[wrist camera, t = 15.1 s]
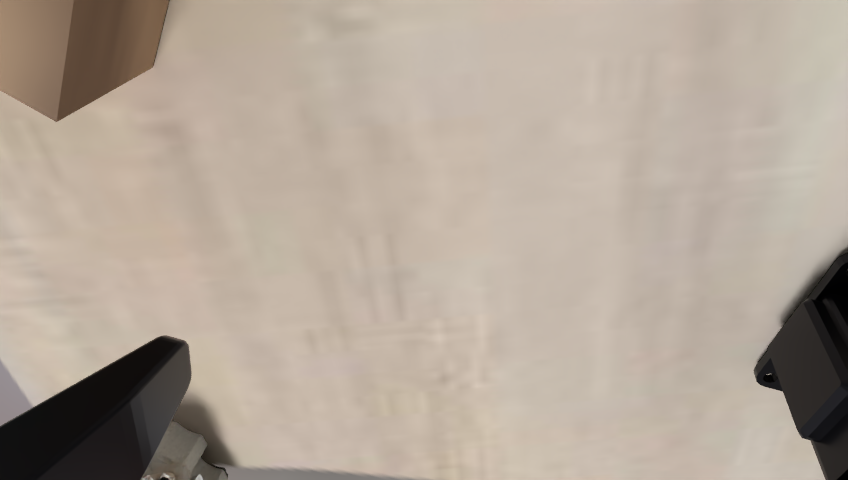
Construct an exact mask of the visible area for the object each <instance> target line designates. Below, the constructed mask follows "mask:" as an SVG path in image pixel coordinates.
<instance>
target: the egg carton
mask: <svg viewBox="0 0 848 480" xmlns="http://www.w3.org/2000/svg"><path fill="white" fill-rule="evenodd" d="M206 447H207V443H206V441H205V439H204V437H203V436H202V435H201V434H197V433H193V432H191V431H188V430H186V429H185V428H183V427H182V426H181V425H180V424H179V423H177V422H173V421H171V423H170V425H169V426H168V428H167V430H166V432H165V434H164V436H163V438H162V440H161V442H160V444H159V446H158V448H157V450H156V452H155V454H154V456H153V458H152V460H151V462H150V464H149V466H148V468H147V469H146V471H145V473H144V475H143V476H142V478H141V480H228V474H227V472H226V469H225V468H224V467H218V466H215V465H211V464H207V463H206V462H205V461H203V460H202V459H201V455H202V454H203V452H204V450H205V448H206Z"/></svg>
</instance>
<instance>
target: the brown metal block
mask: <svg viewBox="0 0 848 480" xmlns="http://www.w3.org/2000/svg"><path fill="white" fill-rule="evenodd" d="M168 3H169V0H0V91H2V92H4V93H6V94H8V95H9V96H11V97H13V98H15V99H17V100H18V101H20V102H22V103H24V104H25V105H27V106H29V107H31V108H33V109H34V110H36V111H38V112H40V113H42V114H43V115H45V116H47V117H49V118H50V119H52V120H54V121H56V122H57V121H59V120H61V119H63V118H64V117H66V116H68V115H70V114H71V113H73V112H75V111H77V110H78V109H80V108H82V107H84V106H85V105H87V104H89V103H91V102H93V101H94V100H96V99H98V98H100V97H101V96H103V95H105V94H107V93H108V92H110V91H112V90H114V89H115V88H117V87H119V86H121V85H122V84H124V83H126V82H128V81H129V80H131V79H133V78H135V77H137V76H138V75H140V74H142V73H144V72H145V71H147V70H149V69H151V68H152V67H153V64H154V60H155V56H156V52H157V48H158V44H159V40H160V36H161V32H162V28H163V24H164V19H165V15H166V11H167V7H168Z"/></svg>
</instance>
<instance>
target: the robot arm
mask: <svg viewBox="0 0 848 480" xmlns="http://www.w3.org/2000/svg"><path fill="white" fill-rule="evenodd" d="M847 269H848V253H847V254H845V255H842V256H840V257H839V258H838V259H837V260H836V261H835V262H834V264H833V265H832V266H831V268H830V269H829V270H828V271H827V273H826V274H825V275H824V277H823V278H822V279H821V281H820V282H819V283H818V285H817V286H816V287H815V289H814V290H813V291H812V293H811V294H810V295H809V297H808V298H807V299H806V300H805V301H803V302H802V303H801V304H800V305H799V306H798V308H797V309H796V310H795V312H794V313H793V314H792V316H791V317H790V318H789V320H788V321H787V322H786V324H785V325H784V326H783V328H782V329H781V330H780V331H779V333H778V334H777V335H776V337H775V338H774V339H773V341H772V342H771V343H770V345H769V346H768V351H767V352H766V353H765V355H764V356H763V357H762V359H761V360H760V361H759V362H758V364H757V365H756V366H755V368H754V374H755V378H756V381H757V382H758V383H759V384H760V385H762V386H765V387H769V388H772V389H776V390H780V391H783V393H784V395H785V398H786V401H787V404H788V406H789V409H790V412H791V414H792V417H793V420H794V423H795V425H796V428H797V430H798V432H799V434H800V436H801V437H802V438H804V439H808V440H811V443H812V445H813V448H814V451H815V453H816V456H817V458H818V461H819V464H820V466H821V469H822V471H823V474H824V477H825V479H826V480H848V270H847ZM769 373H772V374H770V375H766V374H769ZM190 380H191V364H190V354H189V346H188V344H187V343H186V341H184V340H181V339H177V338H174V337H170V336H160V337H157V338H155V339H154V340H152V341H150V342H148V343H147V344H145V345H143V346H141V347H139V348H138V349H136V350H134V351H132V352H131V353H129V354H127V355H125V356H124V357H122V358H120V359H118V360H116V361H115V362H113V363H111V364H109V365H108V366H106V367H104V368H102V369H100V370H99V371H97V372H95V373H93V374H92V375H90V376H88V377H86V378H85V379H83V380H81V381H79V382H77V383H76V384H74V385H72V386H70V387H69V388H67V389H65V390H63V391H62V392H60V393H58V394H56V395H54V396H53V397H51V398H49V399H47V400H46V401H44V402H42V403H40V404H38V405H37V406H35V407H33V408H31V409H30V410H28V411H26V412H24V413H23V414H21V415H19V416H17V417H15V418H14V419H12V420H10V421H8V422H7V423H5V424H3V425H1V426H0V480H141V478H142V476H143V475H144V473H145V471H146V469H147V468H148V466H149V464H150V462H151V460H152V458H153V456H154V454H155V452H156V450H157V448H158V446H159V444H160V442H161V440H162V438H163V436H164V434H165V432H166V430H167V428H168V426H169V425H170V423H171V421H172V419H173V417H174V415H175V413H176V411H177V409H178V407H179V405H180V403H181V401H182V399H183V397H184V395H185V393H186V391H187V389H188V387H189V384H190Z"/></svg>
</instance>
